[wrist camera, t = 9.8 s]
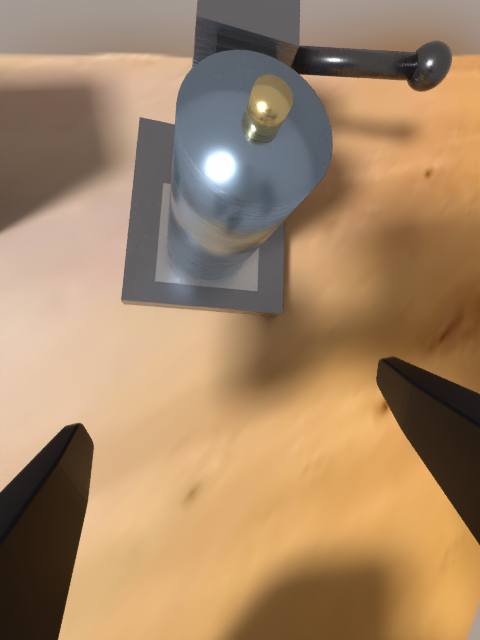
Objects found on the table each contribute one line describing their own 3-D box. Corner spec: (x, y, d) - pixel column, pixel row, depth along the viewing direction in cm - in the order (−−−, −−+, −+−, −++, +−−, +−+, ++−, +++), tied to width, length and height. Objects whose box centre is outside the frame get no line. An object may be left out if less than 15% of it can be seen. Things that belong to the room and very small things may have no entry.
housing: (264, 242, 20) (384, 113, 9) (212, 297, 19) (282, 220, 8) (206, 184, 20) (264, -22, 9) (148, 237, 18) (134, 70, 8)
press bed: (334, 321, 22) (480, 284, 12) (124, 304, 19) (72, 233, 9) (334, 170, 24) (460, 24, 14) (141, 131, 21) (115, -98, 10)
